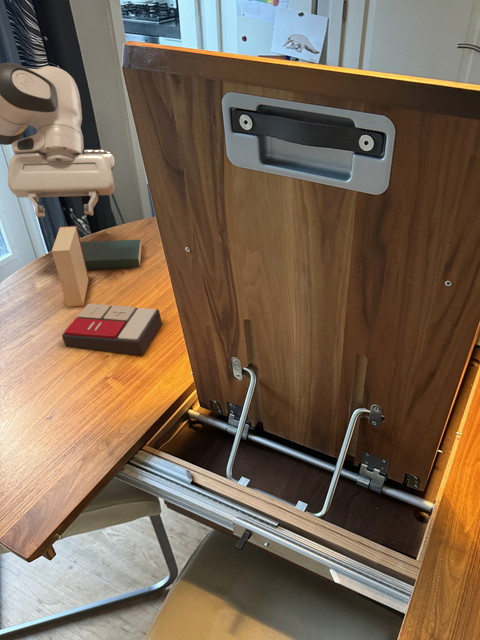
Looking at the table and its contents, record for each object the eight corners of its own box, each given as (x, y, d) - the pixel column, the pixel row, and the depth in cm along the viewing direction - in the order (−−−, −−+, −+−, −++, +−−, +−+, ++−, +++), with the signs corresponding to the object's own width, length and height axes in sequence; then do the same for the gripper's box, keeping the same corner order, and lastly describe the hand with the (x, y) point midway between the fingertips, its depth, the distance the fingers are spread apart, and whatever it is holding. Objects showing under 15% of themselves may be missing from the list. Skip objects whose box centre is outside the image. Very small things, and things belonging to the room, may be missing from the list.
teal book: (77, 273, 118) (74, 261, 116) (82, 253, 125) (80, 241, 123) (140, 270, 120) (138, 258, 118) (142, 250, 127) (140, 239, 125)
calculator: (86, 300, 102) (159, 305, 100) (92, 319, 104) (162, 324, 102) (59, 332, 93) (137, 338, 91) (66, 351, 96) (142, 358, 94)
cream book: (67, 309, 106) (50, 251, 98) (74, 282, 114) (59, 226, 106) (84, 307, 106) (69, 249, 98) (90, 281, 115) (76, 225, 106)
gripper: (116, 157, 111) (120, 219, 109) (15, 159, 108) (18, 223, 106) (110, 141, 104) (114, 207, 103) (3, 142, 101) (6, 210, 100)
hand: (64, 215), depth 105 cm, fingers open, 8 cm apart
